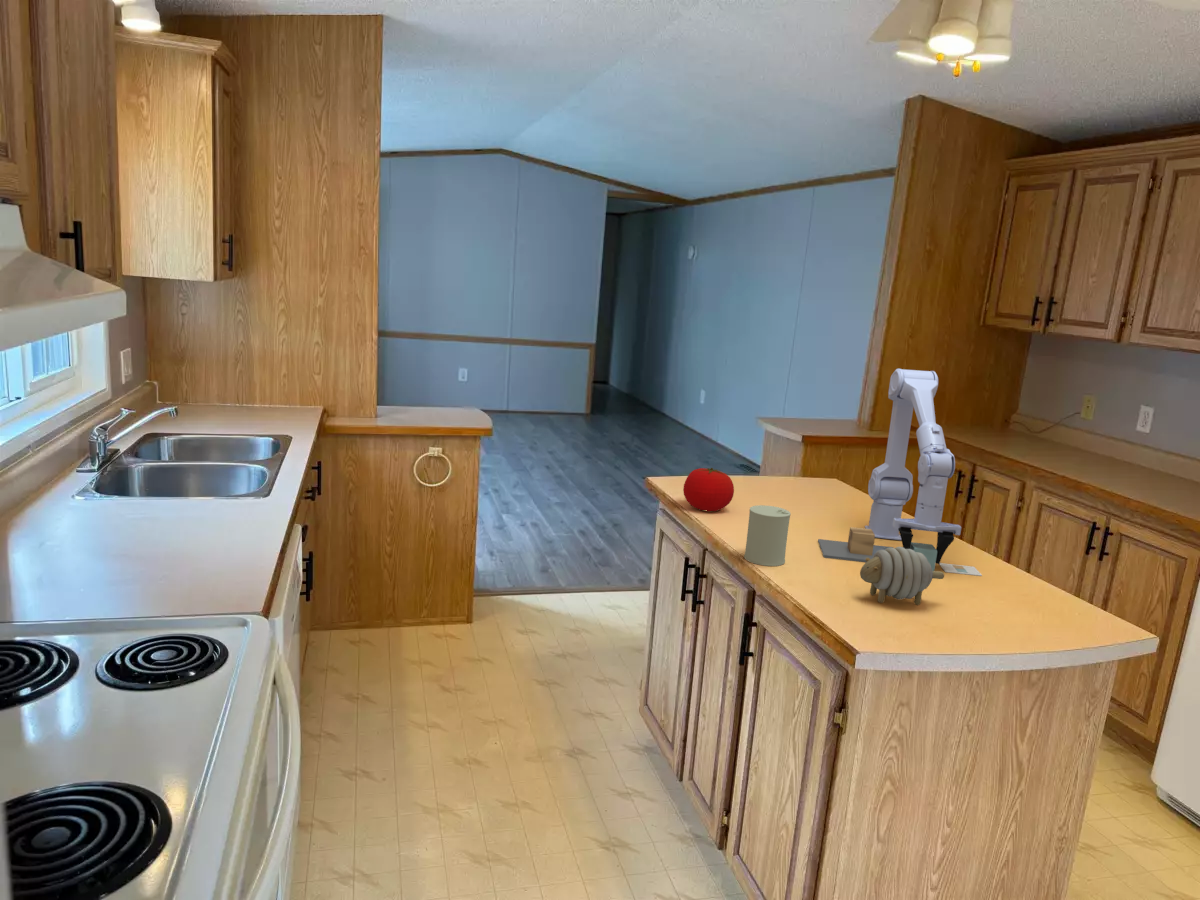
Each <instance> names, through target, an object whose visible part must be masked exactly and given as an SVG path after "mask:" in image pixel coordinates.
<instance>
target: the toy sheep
mask: <svg viewBox="0 0 1200 900" xmlns="http://www.w3.org/2000/svg"><path fill="white" fill-rule="evenodd" d="M865 560H866V561H867V562H864V563H863V565H862V566H861V568H860V571H859V576H860V579H861V580H862V581H863V582H866V583H870V590H869V594H870V595H871V596H876V594H877V590H878V594H877V595H878V596H877V602H878V603H879V604H883V603H885V598H886V596H887V597H891V598H892V597H893V598H894V599H895V600H900V601H902V600H903V599H908V600H910V599H913V598H914V601H913V604H914V605H916V606H919V605H921V601H922V594H923V591H924V590H926V589H928V587H929V586H930V585H931V584H932V583H931V582H932V581H933V579H937V580H943V579H944V577H945V574H944V572H942V571H939V570H937V571H936V570H934V571H932V567H931V565H930V563H929V562H928V560H927V558H926V557H925V556H924V555H923V554H922V553H920V552H915V551H914V550H912V549H905V548H903V546H896V547H893V548H887V549H885V550H878V551H877V552H876V553H875V554H874V556H873V558H872V559H869V558H866V559H865Z"/></svg>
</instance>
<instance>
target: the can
mask: <svg viewBox="0 0 1200 900" xmlns="http://www.w3.org/2000/svg"><path fill="white" fill-rule="evenodd" d="M748 515H749V516H748V522H747V523H748V524H747V534H746V542H745V543H746V544H745V550H744V555H743V558H744V560H746V561H748V562H749V563H752V564H754V565H759V566H765V567H779V566H782V565H784V564H785V563H786V551H787V549H786V548H787V541H788V535H789V526H790V519H791V511H789V510H787V509H785V508H783V507H779V506H774V505H762V504H760V505H752V506H750V507H749V513H748Z"/></svg>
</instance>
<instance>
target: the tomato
mask: <svg viewBox="0 0 1200 900" xmlns="http://www.w3.org/2000/svg"><path fill="white" fill-rule="evenodd" d="M682 488H683V490H682V491H683V495H684V499H685V500H686V502H687V503H688V504H689V505H690V506H691V507H693V508H695V509H696V508H697V510H699V509H700V510H699V511H702V510H707V511H713V512H717V510H718V511H720V510H722V509H724V508H725V507H727V506H728V505H729V504H730V503H731V502H732V501H733V498H734V493H735V486H734V483H733V480H732V479H731V477H730V476H729V475H727V473H726V472H723V470H718V469H715V468H713V467H703V468H702V467H700V468H697V469H693V470H692V471H691V472H689V474H688V475H687V477H686V479H685V481H684V484H683V487H682ZM707 511H706V512H707Z"/></svg>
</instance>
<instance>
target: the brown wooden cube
mask: <svg viewBox="0 0 1200 900" xmlns="http://www.w3.org/2000/svg"><path fill="white" fill-rule="evenodd" d="M848 532H849V533H848V538H847V539H848V540H847V542H848V546H847V547H848V549H849V551H850V553H853V554H862V555H871V556H872V553H873V546H874V545H875V540H876V539H875V538H876V537H875V534H874V533H873V531H872V529H865V527H864V528H862V527H854V526H853V527H852V526H850V527H849V531H848Z"/></svg>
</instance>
